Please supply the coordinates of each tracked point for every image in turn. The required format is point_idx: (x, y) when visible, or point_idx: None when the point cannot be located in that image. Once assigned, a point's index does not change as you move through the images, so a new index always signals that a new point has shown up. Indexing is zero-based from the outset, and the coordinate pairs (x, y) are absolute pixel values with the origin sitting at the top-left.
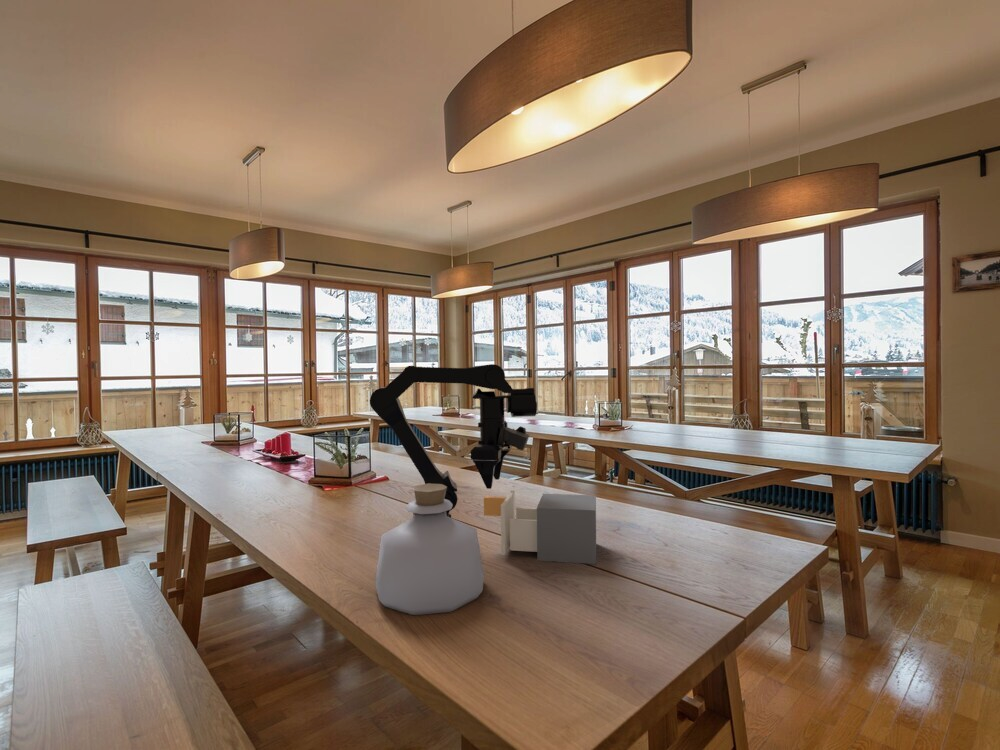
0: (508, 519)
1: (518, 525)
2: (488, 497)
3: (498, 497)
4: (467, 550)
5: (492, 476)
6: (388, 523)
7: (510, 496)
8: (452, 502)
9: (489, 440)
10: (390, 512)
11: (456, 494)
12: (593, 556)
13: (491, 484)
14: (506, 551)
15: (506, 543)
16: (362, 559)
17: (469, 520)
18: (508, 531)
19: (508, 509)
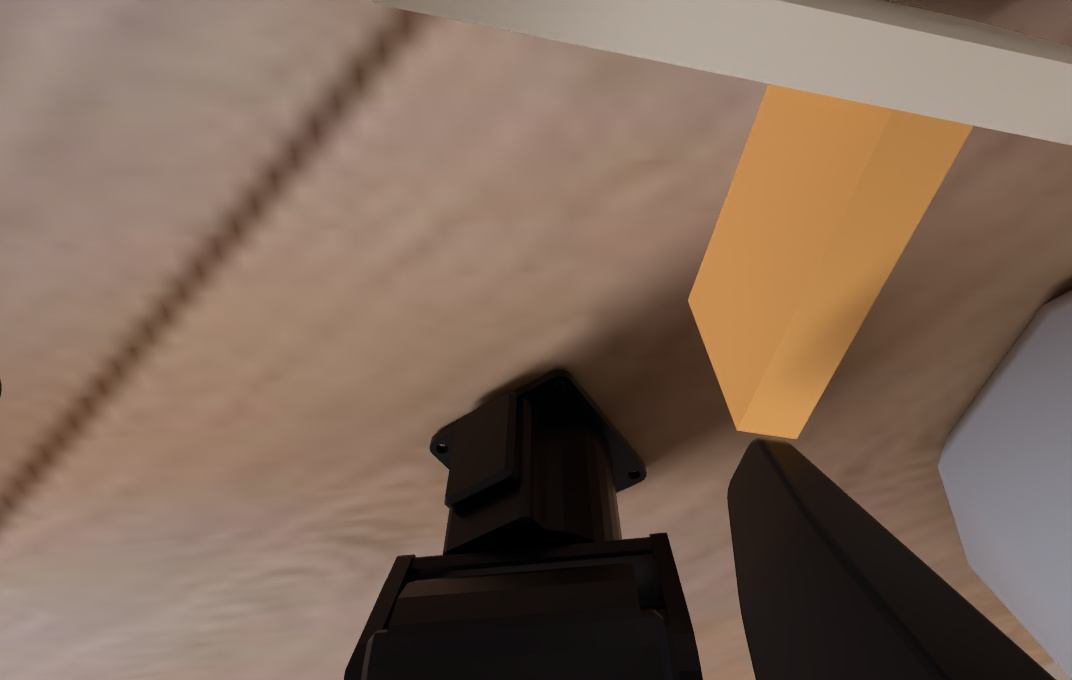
0: (933, 20)
1: None
2: (806, 387)
3: (862, 252)
4: None
5: (1028, 656)
6: (268, 648)
7: (867, 24)
8: (691, 626)
9: None
10: (95, 665)
11: (612, 662)
12: None
13: (841, 494)
14: (919, 8)
15: (950, 17)
16: (725, 647)
17: (75, 315)
18: (879, 3)
19: (1005, 41)
